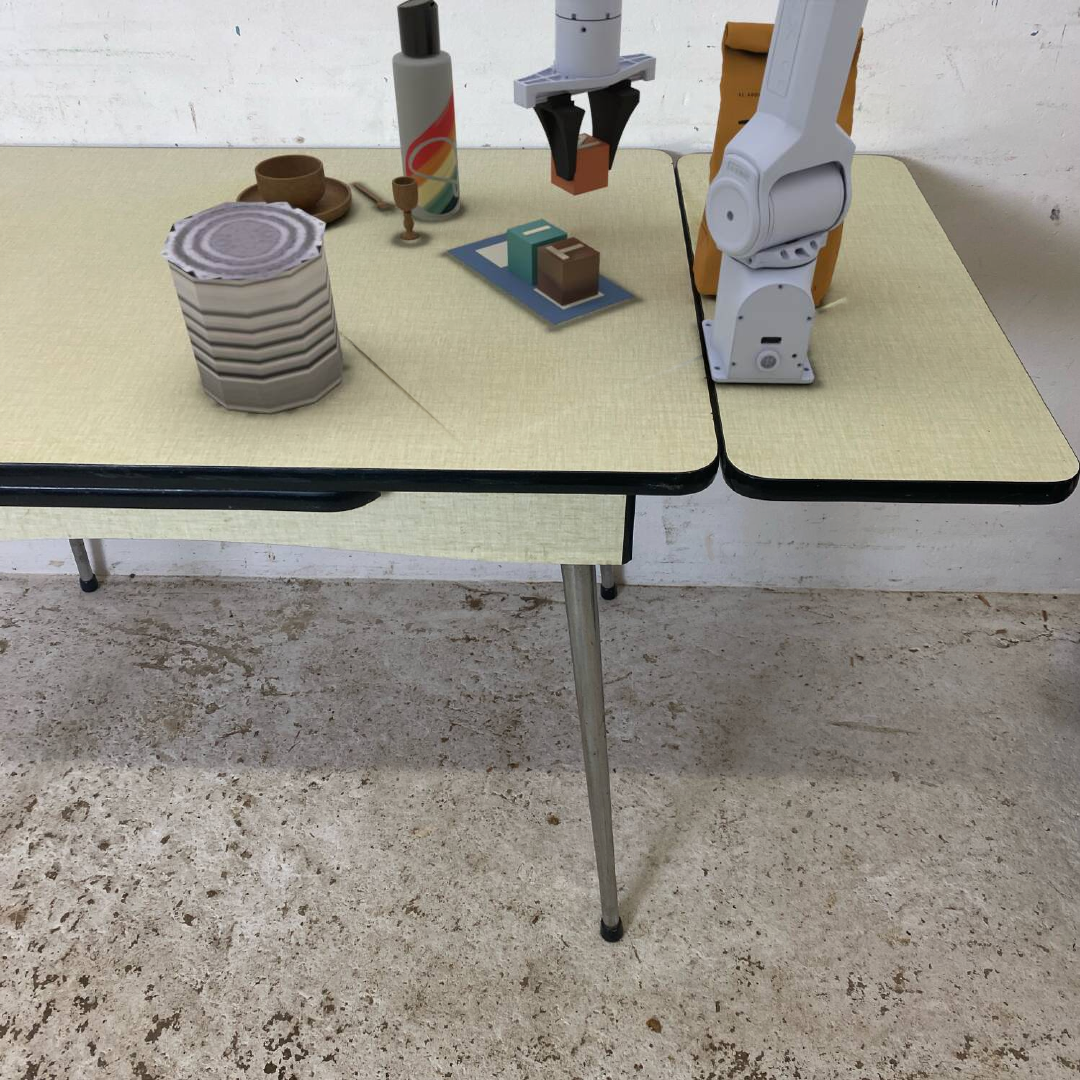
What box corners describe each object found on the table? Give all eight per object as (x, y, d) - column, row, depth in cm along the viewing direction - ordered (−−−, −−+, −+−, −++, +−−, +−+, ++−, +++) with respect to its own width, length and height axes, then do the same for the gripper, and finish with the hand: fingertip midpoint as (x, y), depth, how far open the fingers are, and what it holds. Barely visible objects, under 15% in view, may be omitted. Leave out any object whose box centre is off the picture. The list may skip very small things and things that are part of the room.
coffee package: (826, 322, 82) (886, 45, 68) (683, 305, 85) (712, 34, 70) (830, 272, 89) (885, 12, 75) (698, 257, 92) (727, 3, 77)
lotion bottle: (452, 223, 98) (437, 7, 85) (400, 219, 99) (377, 4, 86) (466, 202, 102) (454, -8, 89) (416, 198, 103) (396, -10, 90)
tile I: (567, 274, 88) (567, 232, 86) (531, 285, 87) (531, 243, 84) (542, 259, 91) (542, 217, 88) (507, 269, 89) (506, 227, 86)
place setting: (351, 177, 108) (344, 123, 104) (434, 239, 95) (429, 181, 91) (200, 211, 101) (186, 154, 97) (267, 283, 88) (254, 222, 84)
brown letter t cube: (598, 294, 85) (600, 251, 83) (562, 306, 84) (562, 262, 81) (572, 277, 88) (573, 235, 85) (537, 289, 86) (536, 246, 83)
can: (347, 334, 81) (326, 195, 73) (346, 408, 72) (321, 260, 64) (210, 344, 80) (173, 204, 72) (193, 420, 71) (149, 272, 63)
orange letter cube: (608, 187, 91) (610, 143, 88) (574, 196, 90) (575, 152, 87) (583, 174, 94) (584, 131, 91) (550, 183, 92) (550, 139, 89)
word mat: (635, 299, 85) (635, 295, 85) (554, 328, 82) (554, 324, 81) (522, 231, 96) (522, 227, 96) (446, 254, 93) (446, 250, 92)
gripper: (624, -7, 87) (617, 144, 96) (492, 16, 81) (497, 176, 90) (675, 8, 82) (663, 165, 91) (539, 33, 76) (540, 199, 85)
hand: (584, 172), depth 90 cm, fingers closed on orange letter cube, 4 cm apart
